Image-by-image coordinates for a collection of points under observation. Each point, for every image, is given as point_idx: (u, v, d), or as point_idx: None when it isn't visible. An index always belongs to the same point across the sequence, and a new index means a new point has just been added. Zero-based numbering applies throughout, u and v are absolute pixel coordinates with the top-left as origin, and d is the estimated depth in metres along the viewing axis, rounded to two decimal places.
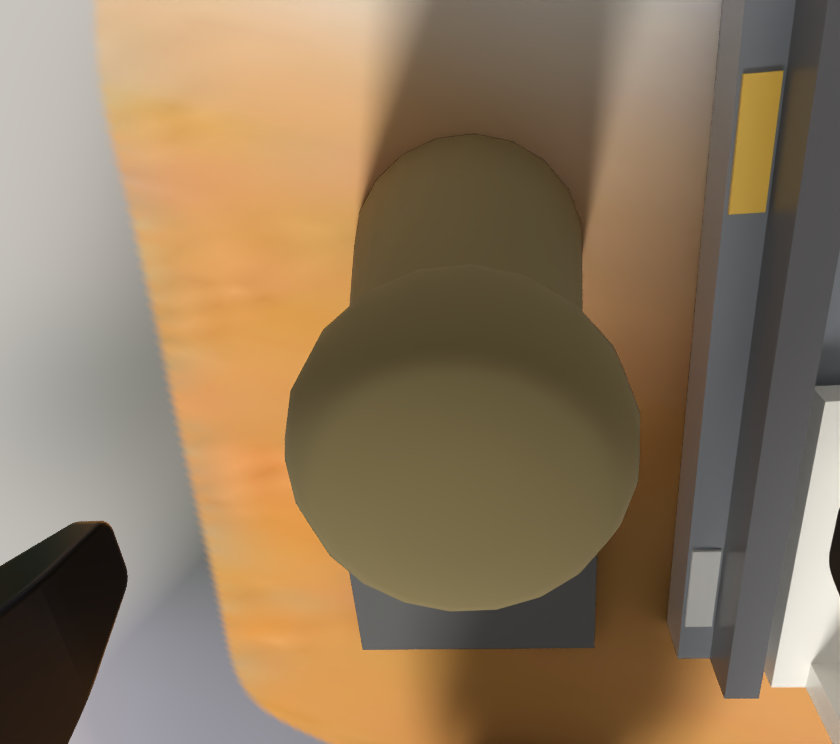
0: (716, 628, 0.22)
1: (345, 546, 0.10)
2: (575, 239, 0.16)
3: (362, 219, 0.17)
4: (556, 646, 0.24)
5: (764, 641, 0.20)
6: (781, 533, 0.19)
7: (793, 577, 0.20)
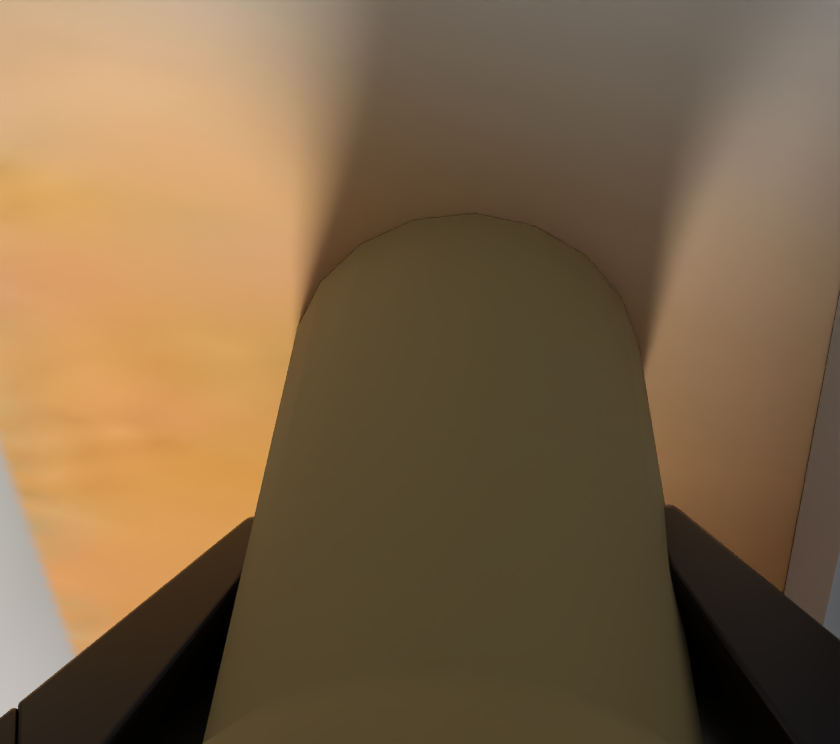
0: None
1: None
2: (643, 402, 0.10)
3: (295, 350, 0.11)
4: None
5: None
6: None
7: None
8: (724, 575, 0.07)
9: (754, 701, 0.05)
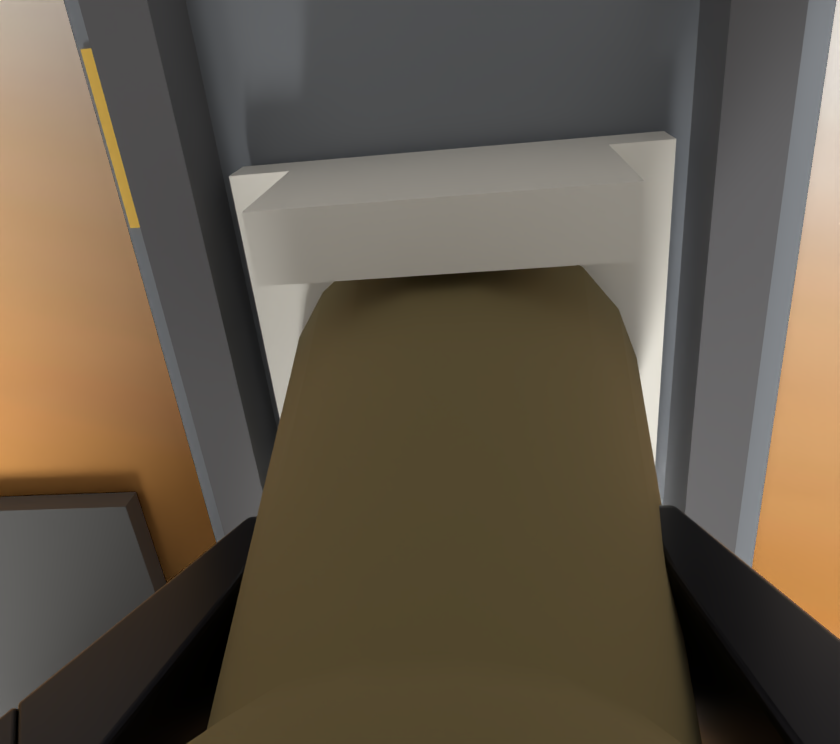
0: None
1: None
2: (640, 410, 0.10)
3: (297, 359, 0.11)
4: None
5: None
6: None
7: None
8: (724, 575, 0.07)
9: (754, 701, 0.05)
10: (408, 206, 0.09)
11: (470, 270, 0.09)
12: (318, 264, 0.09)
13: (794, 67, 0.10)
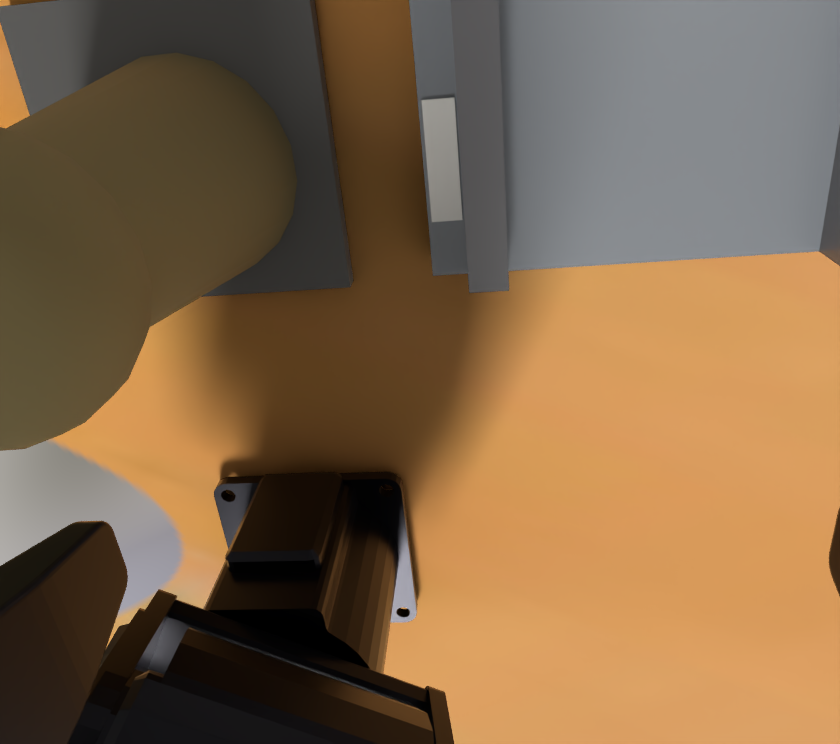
0: None
1: None
2: (246, 149, 0.17)
3: None
4: (307, 287, 0.21)
5: (500, 196, 0.17)
6: (489, 9, 0.15)
7: None
8: None
9: None
10: None
11: None
12: None
13: None
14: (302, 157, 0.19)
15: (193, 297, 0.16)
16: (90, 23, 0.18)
